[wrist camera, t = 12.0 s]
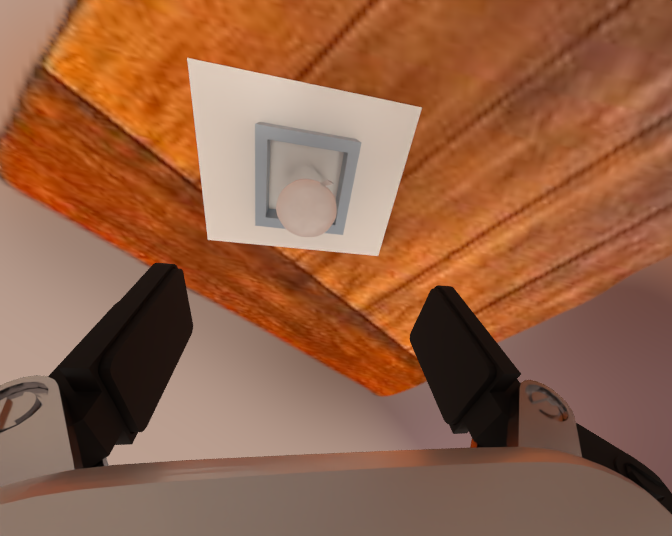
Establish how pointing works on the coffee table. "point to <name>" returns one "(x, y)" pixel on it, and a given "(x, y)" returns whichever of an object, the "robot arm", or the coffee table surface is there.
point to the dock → (295, 155)
